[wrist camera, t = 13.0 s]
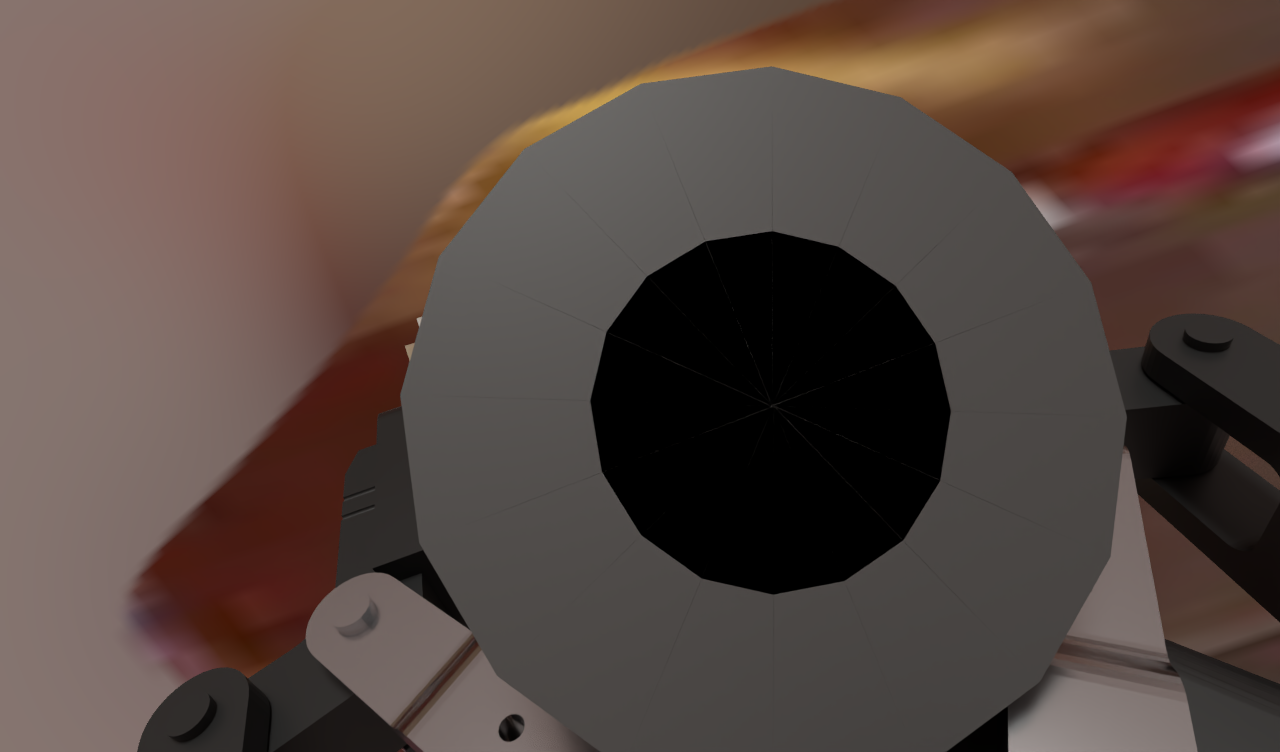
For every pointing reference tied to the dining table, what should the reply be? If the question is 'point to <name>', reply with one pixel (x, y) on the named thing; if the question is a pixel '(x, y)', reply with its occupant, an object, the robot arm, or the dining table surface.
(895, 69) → the dining table surface
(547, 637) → the candle holder
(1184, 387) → the robot arm
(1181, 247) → the dining table surface
